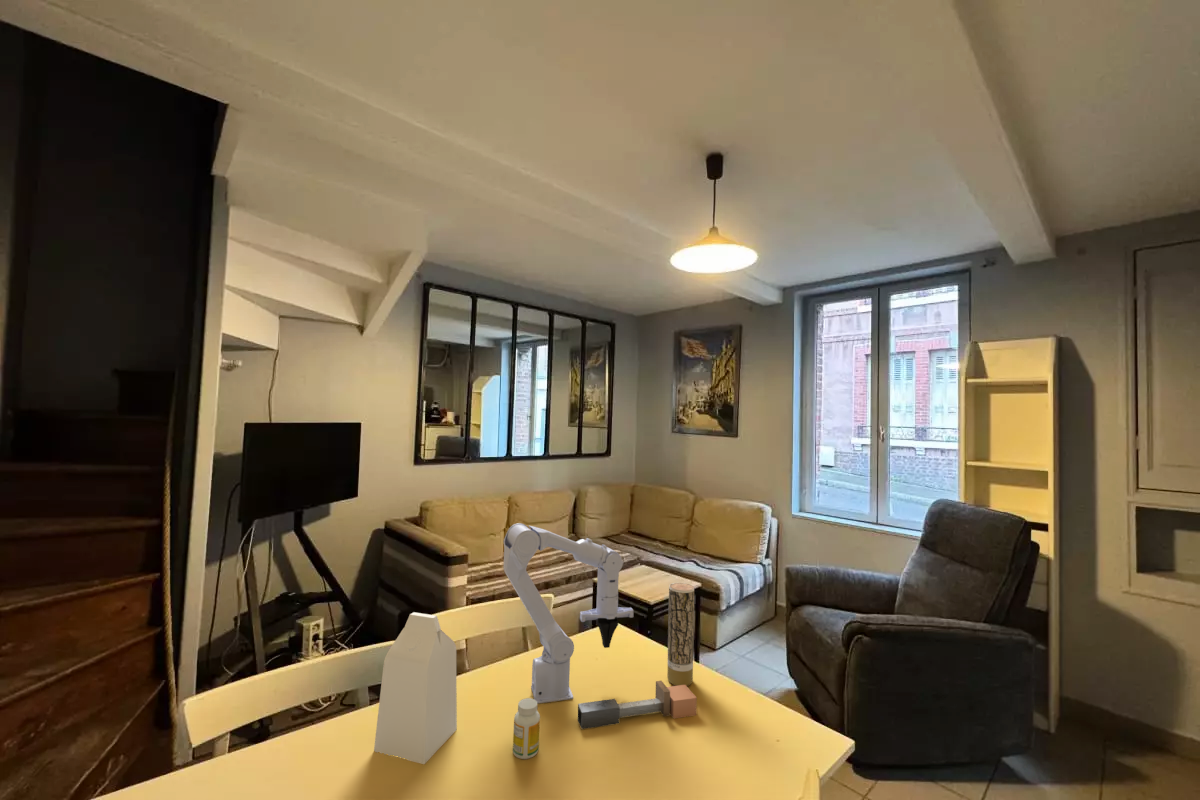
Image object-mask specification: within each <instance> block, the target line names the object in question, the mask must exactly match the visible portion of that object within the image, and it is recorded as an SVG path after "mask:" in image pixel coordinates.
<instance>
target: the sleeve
mask: <svg viewBox="0 0 1200 800" xmlns="http://www.w3.org/2000/svg"><path fill="white" fill-rule="evenodd" d="M618 704H619V703H618V701H617V700H616V698H609V699H603V700H596V701H595V700H594V701H590V702H589V701H588V702H581V703H577V722H578V725H579V727H580V729H581V730H586V729H593V728H594V729H595V728H600V727H605V726H611V725H618V724H620V719H621V718H620V707H619V705H618Z"/></svg>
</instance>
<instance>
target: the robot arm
mask: <svg viewBox="0 0 1200 800" xmlns="http://www.w3.org/2000/svg"><path fill="white" fill-rule="evenodd" d="M503 547H504V548H503V549H504V552H503V571H504V574H505V575H506V576H507V578H508V580H509V581H510V584H511V585H512V587H513V589H514V590H515V592H516V594H517V596H518V597H519V599H520V601H521V602H522V605H523V606H524V608H525V610H526V611H527V614H528V615H529V617H530V618H531V620H532V622H533V623H534V624H535V626H536V629H537V632H538V635H539V642H540V644H541V645H542V646H543V650H542V654H541V655H540V656H539V657H535V658H533V660H532V667H531V668H532V669H531V670H532V671H531V685H530V687H531V688H530V689H531V692H532V696H533V699H535V700H536V701H537V705H539V704H545V703H551V702H558V701H566V700H567V701H568V700H572V699H574V695H573V692H572V690H571V687H570V671H571V670H570V669H571V667H570V666H571V663H570V662H571V657H572V656H573V653H574V651H575V644H574V641H573V640H572V639H571V637H569V636H568V635H567V634H566V632H565V631H564V630H563V629H562V627H561V626H560V625H559V624H558V622H557V621H556V620H555V618H554V616H553V614H552V612H551V611H550V609H549V608H548V606H547V604H546V603H545V601H544V599H543V597H542V595H541V593H540V592H539V590H538V588H537V587H536V585H535V583H534V581H533V580H532V577H531V576H530V574H529V573H528V571H527V567H528V565H529V563H530V561H531V560H532V559H533V557H534V555H535V554H536V552H537V551H538V550H539V551H540V552H542V551H543V550H544V549H547V548H552V549H555V550H558V551H561V552H565V553H568V554H572V556H573V559H574V560H575V561H576V562H579V563H582V564H585V565H587V566H591V567H593V568H597V577H596V578H597V582H596V586H597V587H596V608H591V609H588V610H584V611H582V610H581V611H580V612H579V620H580V622H581V623H584V622H586V621H596V624H597V627H598V629H599V632H600V637H601V643H602V646H603V648H604V649H607V648H609V649H610V646H611V642H612V640H613V639H612V638H613V637H614V636H613V635H614V633H615V631H616V629H617V628H618V626H619V620H618V618H630V619H631V618H634V609H633V608H632V607H622V606H621V607H620V606H619V579H620V578H619V576H620V575H619V573H620V571H621V569H622V568H623V565H624V561H623V560H622V559H623V558H622V556H621V554H620V553H619V552H618V551H616V550H614V549H612V548H610V547H608V546H607V545H606V544H603V543H602V544H598V543H595V542H593V540H592V539H591V538H589V537H586V538H580V539H578V540H577V541H575V540H572V539H569V538H567V537H565V536H562V535H559V534H557V533H554V532H552V531H550V530H547V529H545V528H544V529H543V528H541V527H537V526H534V525H533V526H532V525H528V526H527V525H526V524H524V523H520V522H518V523H514V524H512V525H511V526H510V527H509V528H508V529H507V532H506V533H505V536H504V538H503Z"/></svg>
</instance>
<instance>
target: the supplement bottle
mask: <svg viewBox="0 0 1200 800" xmlns="http://www.w3.org/2000/svg"><path fill="white" fill-rule="evenodd" d="M540 722H541V715H540V713H539V711H538V704H537V701H536V700H535V699H534V698H531V697H529V698H528V697H527V698H523V699H521V700H519V701H518V704H517V712H516V713H515V715H514V717H513V737H512V754H513V755H514V756H515V757H516V758H518V759H521V760H527V759H531V758H533V757H535V756H536V755H537V754H538V752H539V747H540V725H541V723H540Z"/></svg>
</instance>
